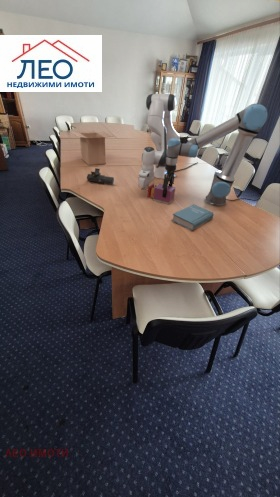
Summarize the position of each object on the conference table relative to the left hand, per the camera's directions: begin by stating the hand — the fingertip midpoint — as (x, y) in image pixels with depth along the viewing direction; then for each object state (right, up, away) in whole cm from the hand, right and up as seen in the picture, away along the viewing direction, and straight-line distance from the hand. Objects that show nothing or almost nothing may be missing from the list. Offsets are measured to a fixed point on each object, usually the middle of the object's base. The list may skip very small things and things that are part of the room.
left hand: (145, 189), depth 169 cm
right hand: (+15, -5, -6) cm, 17 cm away
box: (-55, +49, +68) cm, 100 cm away
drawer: (+6, -5, 0) cm, 7 cm away
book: (+29, -27, -26) cm, 48 cm away
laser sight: (-38, +11, +18) cm, 44 cm away
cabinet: (+13, -8, -2) cm, 16 cm away
